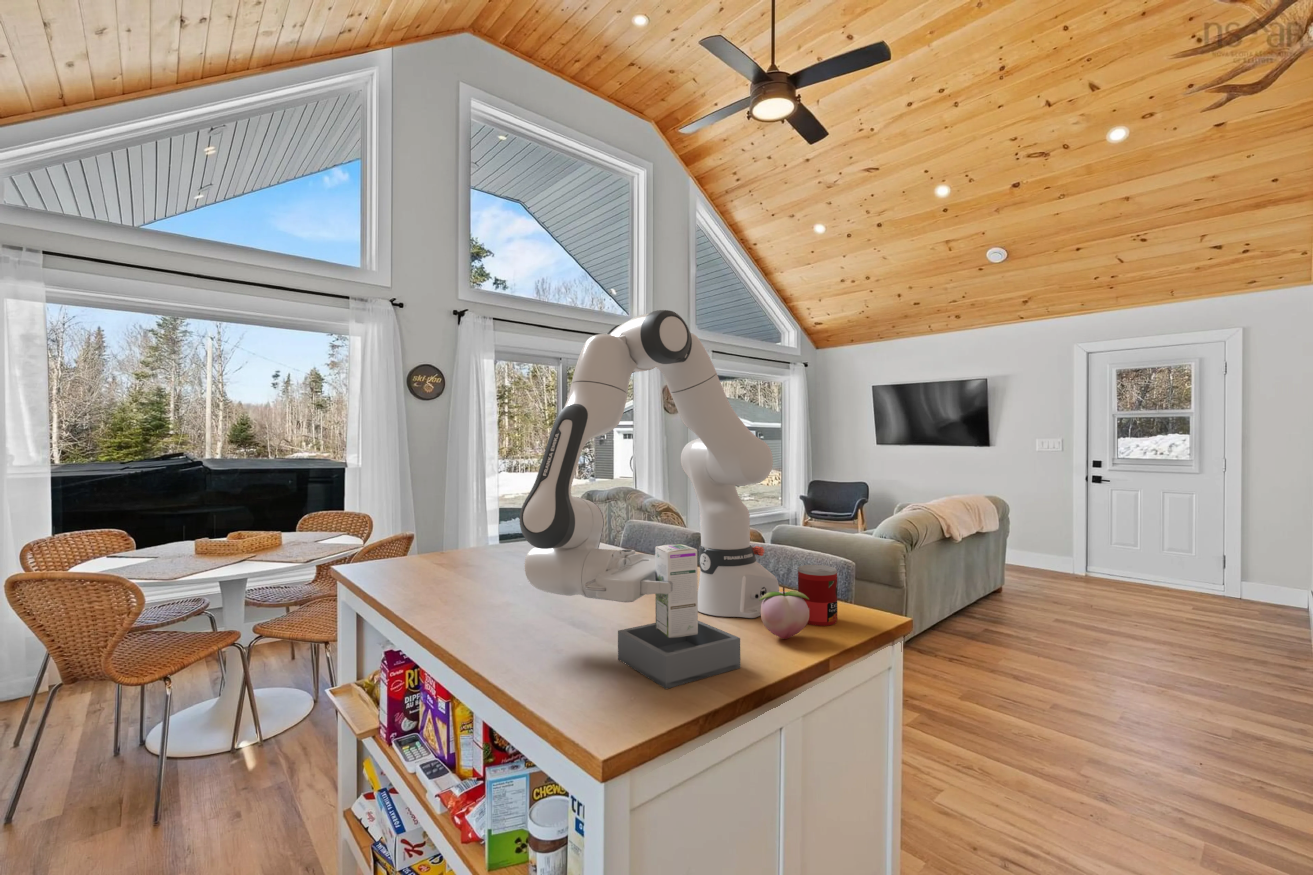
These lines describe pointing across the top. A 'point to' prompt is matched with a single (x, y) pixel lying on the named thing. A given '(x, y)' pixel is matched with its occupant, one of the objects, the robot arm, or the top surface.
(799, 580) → the canned food
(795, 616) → the decorative fruit
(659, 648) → the bin
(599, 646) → the top surface
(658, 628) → the syrup box
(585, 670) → the top surface
